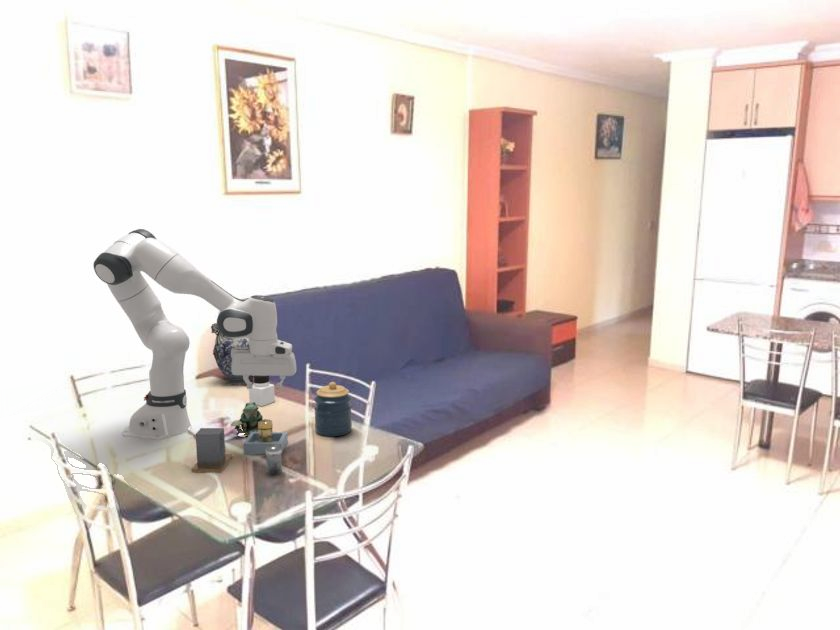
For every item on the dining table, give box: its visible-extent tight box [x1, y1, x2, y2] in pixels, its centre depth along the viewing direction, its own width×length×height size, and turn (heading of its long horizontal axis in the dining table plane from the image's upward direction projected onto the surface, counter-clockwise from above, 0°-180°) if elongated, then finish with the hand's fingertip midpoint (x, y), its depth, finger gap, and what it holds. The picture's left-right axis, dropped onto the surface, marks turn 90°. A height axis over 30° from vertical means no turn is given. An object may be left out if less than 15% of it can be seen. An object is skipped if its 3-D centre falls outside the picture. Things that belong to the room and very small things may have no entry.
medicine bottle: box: [248, 375, 276, 407], centre depth 250 cm, size 7×7×12 cm
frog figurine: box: [230, 402, 264, 436], centre depth 219 cm, size 18×18×12 cm
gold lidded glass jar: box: [258, 418, 274, 442], centre depth 206 cm, size 5×5×8 cm
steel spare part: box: [265, 444, 283, 476], centre depth 188 cm, size 5×5×8 cm
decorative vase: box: [210, 322, 251, 386], centre depth 275 cm, size 21×19×28 cm
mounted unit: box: [190, 427, 233, 473], centre depth 193 cm, size 9×11×11 cm
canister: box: [313, 381, 353, 437], centre depth 221 cm, size 13×13×18 cm
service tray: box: [242, 431, 289, 455], centre depth 206 cm, size 12×10×4 cm
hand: (264, 388), depth 203 cm, fingers open, 8 cm apart
